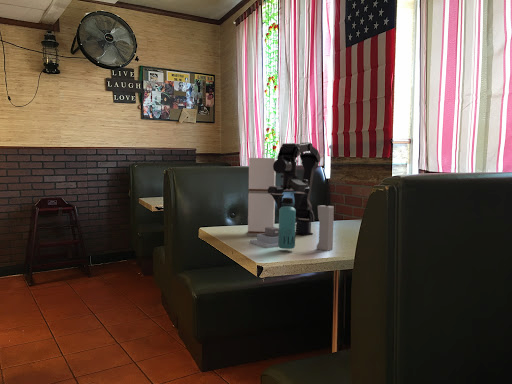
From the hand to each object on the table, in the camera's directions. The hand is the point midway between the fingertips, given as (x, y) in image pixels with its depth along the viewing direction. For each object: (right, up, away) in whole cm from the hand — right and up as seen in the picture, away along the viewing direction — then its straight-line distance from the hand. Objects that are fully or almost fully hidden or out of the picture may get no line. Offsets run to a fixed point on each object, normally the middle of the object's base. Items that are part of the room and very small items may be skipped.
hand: (288, 209), depth 167 cm
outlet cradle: (-7, -13, -6) cm, 17 cm away
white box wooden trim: (-11, -12, +15) cm, 22 cm away
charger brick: (-7, -12, -7) cm, 15 cm away
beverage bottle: (-2, -15, -20) cm, 25 cm away
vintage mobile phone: (+12, -15, -16) cm, 25 cm away
